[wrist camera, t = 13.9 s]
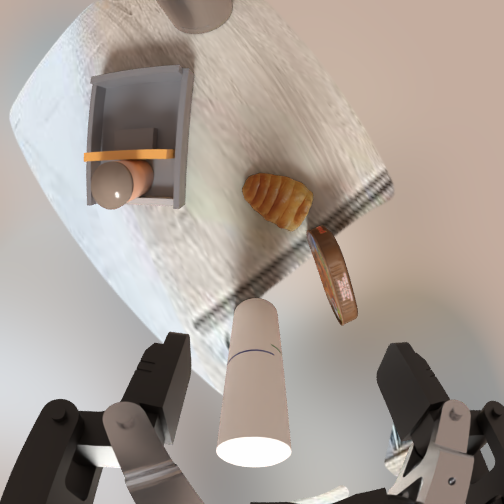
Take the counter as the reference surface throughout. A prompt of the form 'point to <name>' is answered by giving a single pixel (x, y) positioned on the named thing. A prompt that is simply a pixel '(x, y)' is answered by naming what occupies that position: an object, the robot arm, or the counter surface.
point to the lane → (144, 124)
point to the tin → (333, 273)
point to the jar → (121, 182)
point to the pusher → (133, 146)
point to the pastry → (278, 199)
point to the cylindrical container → (254, 390)
